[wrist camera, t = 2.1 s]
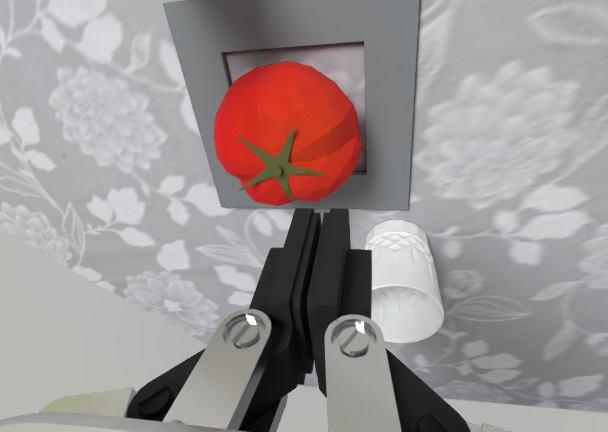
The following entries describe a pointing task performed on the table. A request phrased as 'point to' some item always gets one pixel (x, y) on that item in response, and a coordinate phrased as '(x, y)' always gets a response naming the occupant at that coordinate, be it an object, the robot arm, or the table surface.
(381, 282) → the white cup
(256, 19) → the gray picture frame
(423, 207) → the table surface
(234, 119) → the tomato
